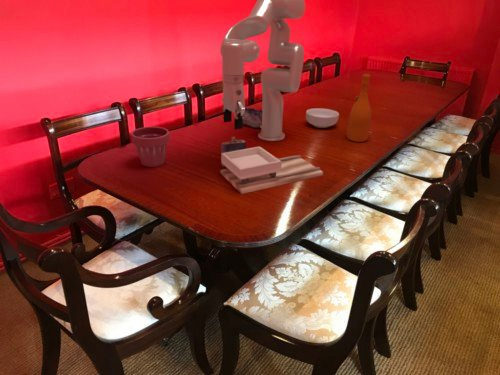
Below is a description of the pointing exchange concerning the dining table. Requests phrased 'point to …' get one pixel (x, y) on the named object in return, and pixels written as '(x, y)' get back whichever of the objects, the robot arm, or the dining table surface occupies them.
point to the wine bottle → (360, 114)
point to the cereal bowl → (322, 117)
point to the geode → (252, 117)
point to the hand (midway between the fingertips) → (232, 125)
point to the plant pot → (151, 145)
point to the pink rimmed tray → (251, 163)
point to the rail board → (290, 172)
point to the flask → (233, 146)
